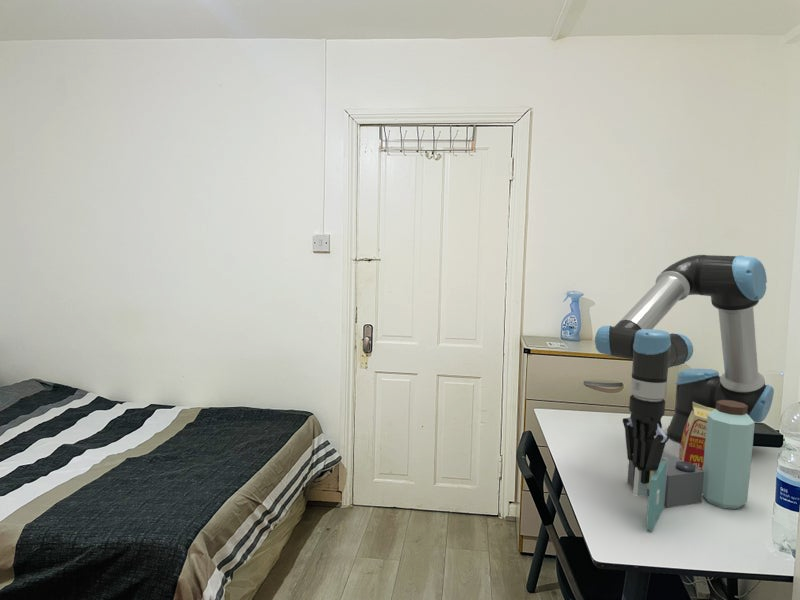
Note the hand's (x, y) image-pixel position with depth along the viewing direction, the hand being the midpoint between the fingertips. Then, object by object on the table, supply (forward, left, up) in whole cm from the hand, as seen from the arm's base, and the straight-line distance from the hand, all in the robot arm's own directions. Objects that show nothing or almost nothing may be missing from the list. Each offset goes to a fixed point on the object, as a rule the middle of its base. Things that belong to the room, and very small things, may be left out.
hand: (639, 494), depth 132 cm
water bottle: (-25, 0, -5) cm, 26 cm away
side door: (-2, +3, -4) cm, 6 cm away
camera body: (-14, -8, -5) cm, 17 cm away
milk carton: (-33, -16, -5) cm, 37 cm away
